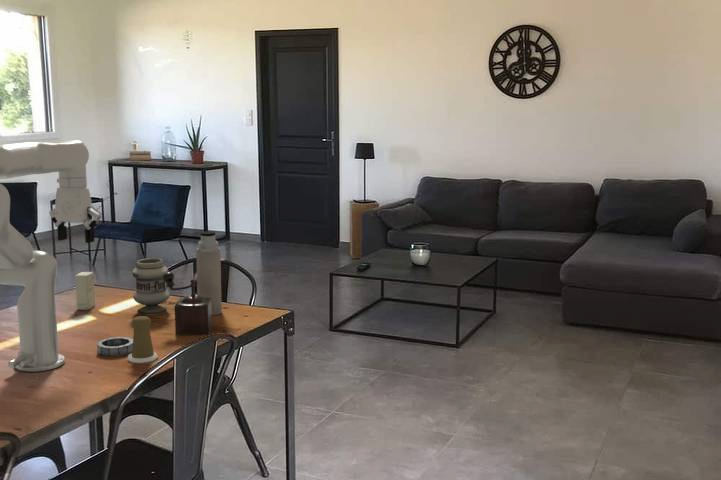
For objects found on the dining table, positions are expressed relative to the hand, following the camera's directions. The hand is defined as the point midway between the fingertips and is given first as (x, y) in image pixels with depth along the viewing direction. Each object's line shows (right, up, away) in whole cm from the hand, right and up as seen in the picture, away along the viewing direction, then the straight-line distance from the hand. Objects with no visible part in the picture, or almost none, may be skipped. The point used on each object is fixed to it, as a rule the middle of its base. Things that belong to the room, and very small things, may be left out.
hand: (76, 240), depth 223 cm
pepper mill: (+29, -28, +17) cm, 44 cm away
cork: (+23, -32, -10) cm, 41 cm away
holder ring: (+13, -32, -4) cm, 35 cm away
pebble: (+23, -33, -10) cm, 41 cm away
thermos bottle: (+32, -25, +36) cm, 55 cm away
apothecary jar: (+12, -25, +37) cm, 46 cm away
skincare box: (-12, -23, +40) cm, 48 cm away
